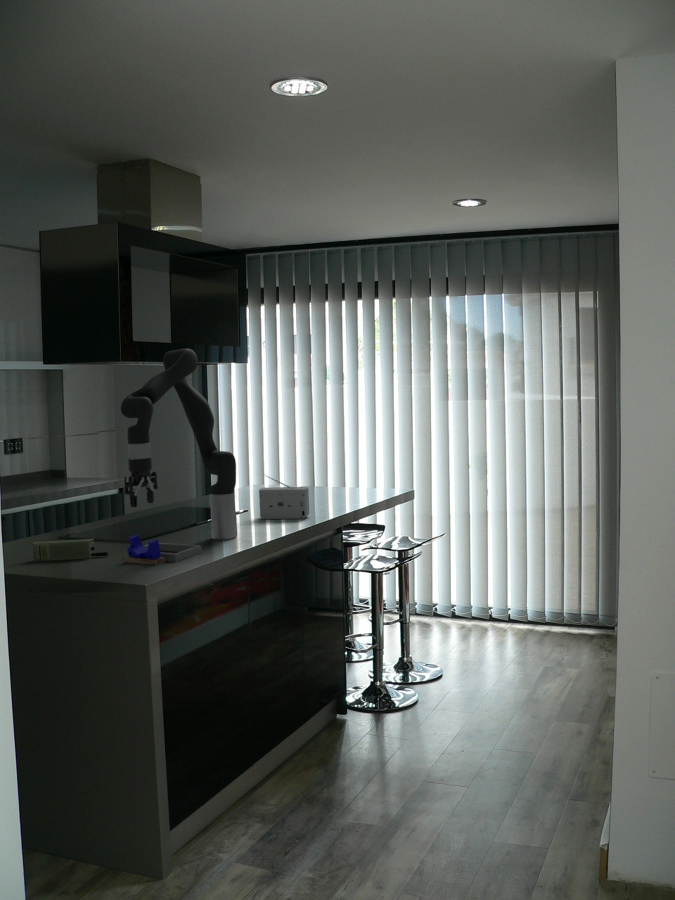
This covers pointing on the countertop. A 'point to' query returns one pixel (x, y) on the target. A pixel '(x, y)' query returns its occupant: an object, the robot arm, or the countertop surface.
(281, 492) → the stereo radio cassette player
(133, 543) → the cable clip
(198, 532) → the countertop surface
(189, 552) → the grey shallow tray
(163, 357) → the robot arm
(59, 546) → the handheld radio
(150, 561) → the walnut pad
